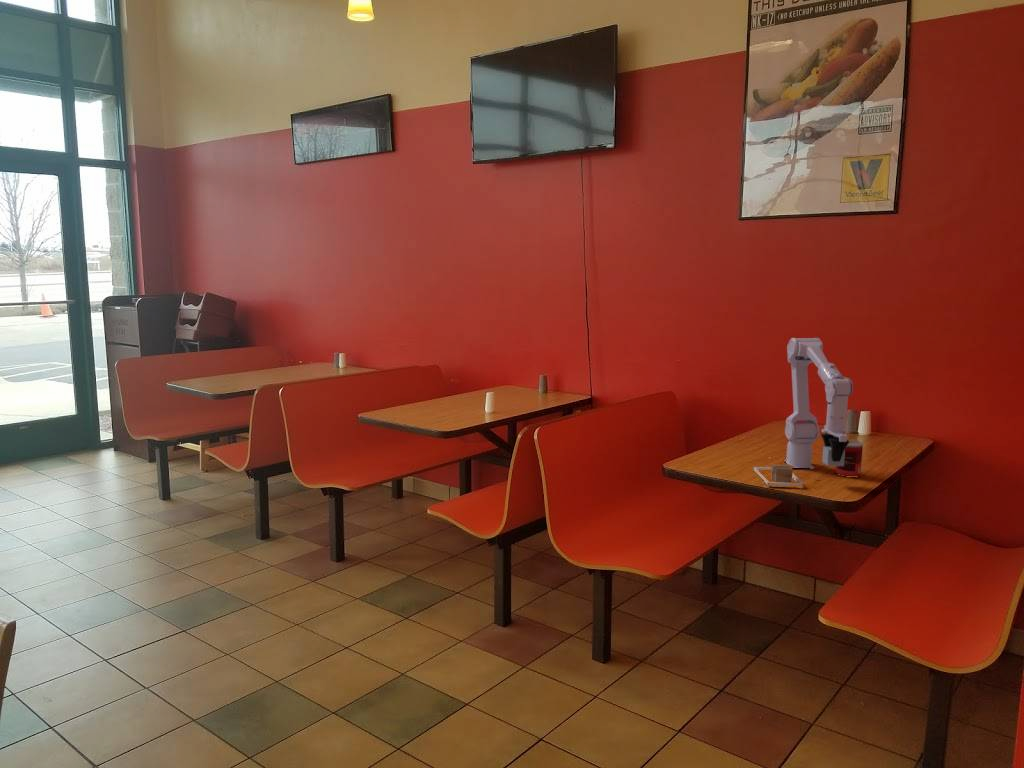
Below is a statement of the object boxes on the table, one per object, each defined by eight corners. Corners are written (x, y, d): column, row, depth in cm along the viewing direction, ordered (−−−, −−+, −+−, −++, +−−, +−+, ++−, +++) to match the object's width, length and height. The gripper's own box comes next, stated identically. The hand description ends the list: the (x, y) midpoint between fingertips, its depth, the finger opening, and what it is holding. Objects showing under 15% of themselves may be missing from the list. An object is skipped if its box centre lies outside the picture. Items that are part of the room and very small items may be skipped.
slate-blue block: (822, 461, 247) (823, 446, 247) (838, 462, 247) (839, 446, 246) (827, 465, 243) (828, 450, 242) (843, 466, 242) (845, 450, 241)
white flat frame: (753, 471, 260) (753, 466, 260) (786, 472, 259) (787, 467, 259) (767, 487, 242) (767, 482, 242) (803, 488, 241) (803, 483, 241)
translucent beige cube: (771, 479, 249) (772, 464, 248) (787, 480, 249) (788, 464, 248) (775, 484, 244) (776, 468, 244) (791, 484, 244) (792, 469, 243)
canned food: (853, 471, 261) (856, 439, 259) (864, 478, 253) (867, 445, 251) (830, 471, 261) (833, 439, 259) (841, 478, 253) (844, 445, 251)
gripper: (815, 411, 250) (812, 452, 252) (831, 421, 235) (828, 464, 238) (838, 412, 249) (834, 453, 252) (855, 421, 235) (851, 465, 237)
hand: (833, 458), depth 245 cm, fingers closed on slate-blue block, 5 cm apart
